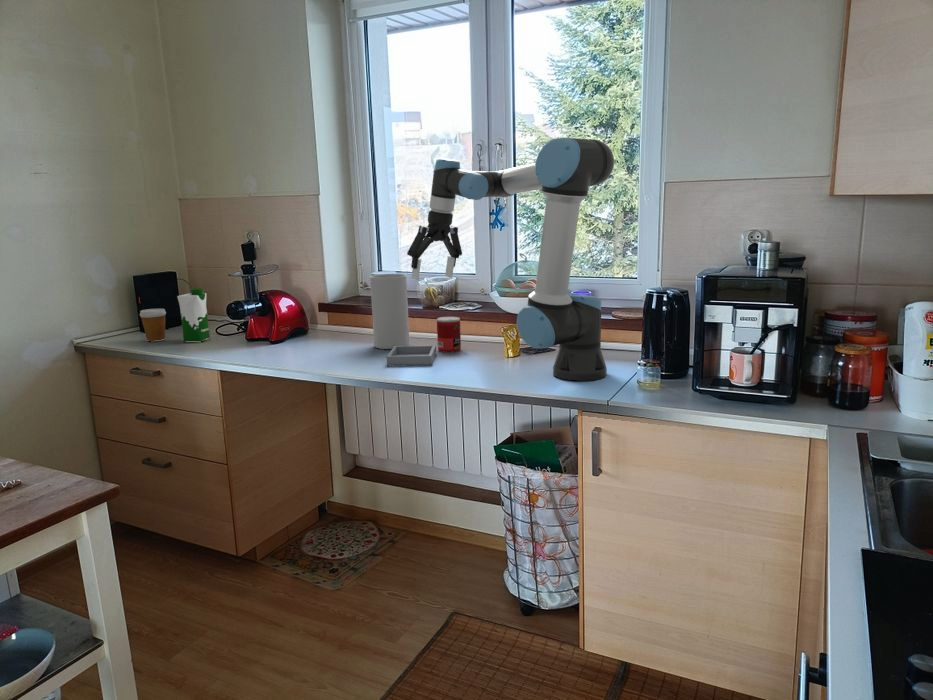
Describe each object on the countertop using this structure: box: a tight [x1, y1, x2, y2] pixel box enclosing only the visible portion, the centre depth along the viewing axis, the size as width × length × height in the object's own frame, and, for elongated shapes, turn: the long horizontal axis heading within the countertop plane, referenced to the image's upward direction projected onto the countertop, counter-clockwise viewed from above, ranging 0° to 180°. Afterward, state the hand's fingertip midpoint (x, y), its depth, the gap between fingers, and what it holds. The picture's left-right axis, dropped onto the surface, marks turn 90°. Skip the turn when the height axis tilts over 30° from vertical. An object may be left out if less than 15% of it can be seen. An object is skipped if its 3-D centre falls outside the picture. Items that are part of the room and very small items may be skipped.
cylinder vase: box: [369, 273, 410, 350], centre depth 242 cm, size 12×12×25 cm
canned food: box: [436, 316, 462, 353], centre depth 235 cm, size 8×8×11 cm
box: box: [386, 344, 437, 367], centre depth 223 cm, size 16×14×3 cm
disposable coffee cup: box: [138, 308, 167, 341], centre depth 267 cm, size 10×10×12 cm
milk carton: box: [176, 288, 211, 342], centre depth 263 cm, size 9×9×20 cm
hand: (432, 277), depth 219 cm, fingers open, 13 cm apart
